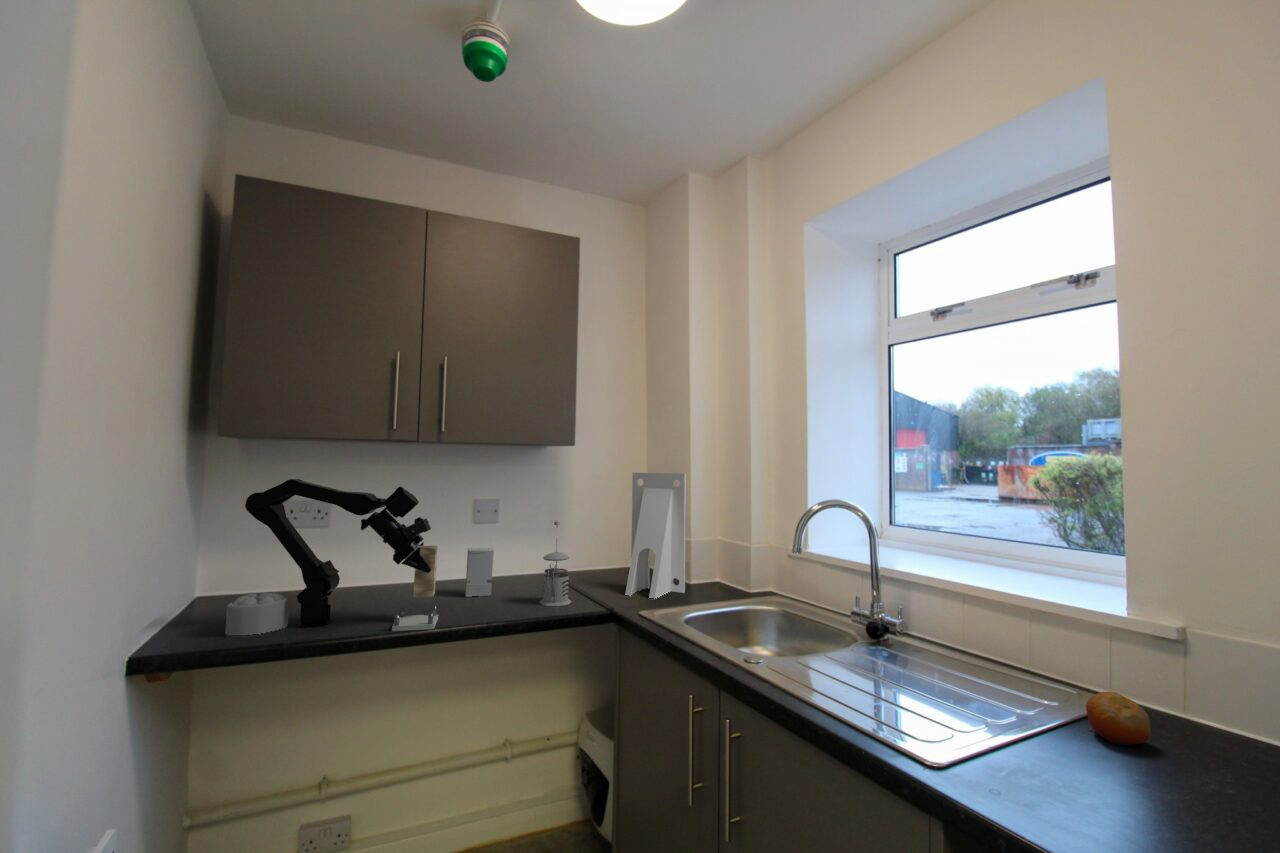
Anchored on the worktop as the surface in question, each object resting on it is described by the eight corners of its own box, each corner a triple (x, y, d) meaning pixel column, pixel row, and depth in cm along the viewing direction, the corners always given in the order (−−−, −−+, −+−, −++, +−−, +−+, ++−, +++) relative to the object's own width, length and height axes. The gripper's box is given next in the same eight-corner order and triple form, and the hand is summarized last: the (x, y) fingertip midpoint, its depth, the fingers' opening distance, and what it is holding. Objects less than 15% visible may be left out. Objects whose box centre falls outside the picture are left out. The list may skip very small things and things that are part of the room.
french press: (574, 599, 183) (575, 519, 185) (566, 608, 172) (567, 523, 173) (544, 597, 184) (545, 519, 186) (533, 606, 173) (535, 522, 174)
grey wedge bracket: (612, 594, 191) (614, 472, 194) (632, 586, 204) (633, 472, 206) (667, 601, 182) (669, 474, 185) (684, 592, 195) (685, 473, 198)
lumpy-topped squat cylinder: (292, 626, 149) (294, 592, 150) (238, 639, 138) (240, 603, 139) (270, 620, 154) (271, 588, 155) (215, 633, 143) (217, 597, 144)
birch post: (413, 597, 155) (416, 547, 156) (415, 593, 160) (418, 545, 161) (432, 596, 156) (435, 547, 157) (434, 593, 161) (437, 545, 162)
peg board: (392, 631, 146) (392, 616, 147) (399, 620, 156) (399, 606, 156) (433, 629, 149) (434, 614, 149) (438, 618, 158) (438, 605, 159)
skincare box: (465, 597, 183) (466, 550, 184) (465, 593, 189) (466, 547, 190) (492, 596, 186) (493, 549, 187) (491, 592, 191) (492, 546, 192)
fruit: (1110, 714, 99) (1130, 682, 95) (1147, 759, 92) (1170, 727, 88) (1064, 714, 99) (1082, 682, 95) (1098, 759, 92) (1119, 727, 88)
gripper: (408, 511, 149) (451, 553, 151) (417, 506, 167) (455, 543, 169) (374, 542, 147) (418, 585, 149) (386, 533, 165) (425, 571, 167)
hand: (430, 569), depth 159 cm, fingers closed on birch post, 5 cm apart
